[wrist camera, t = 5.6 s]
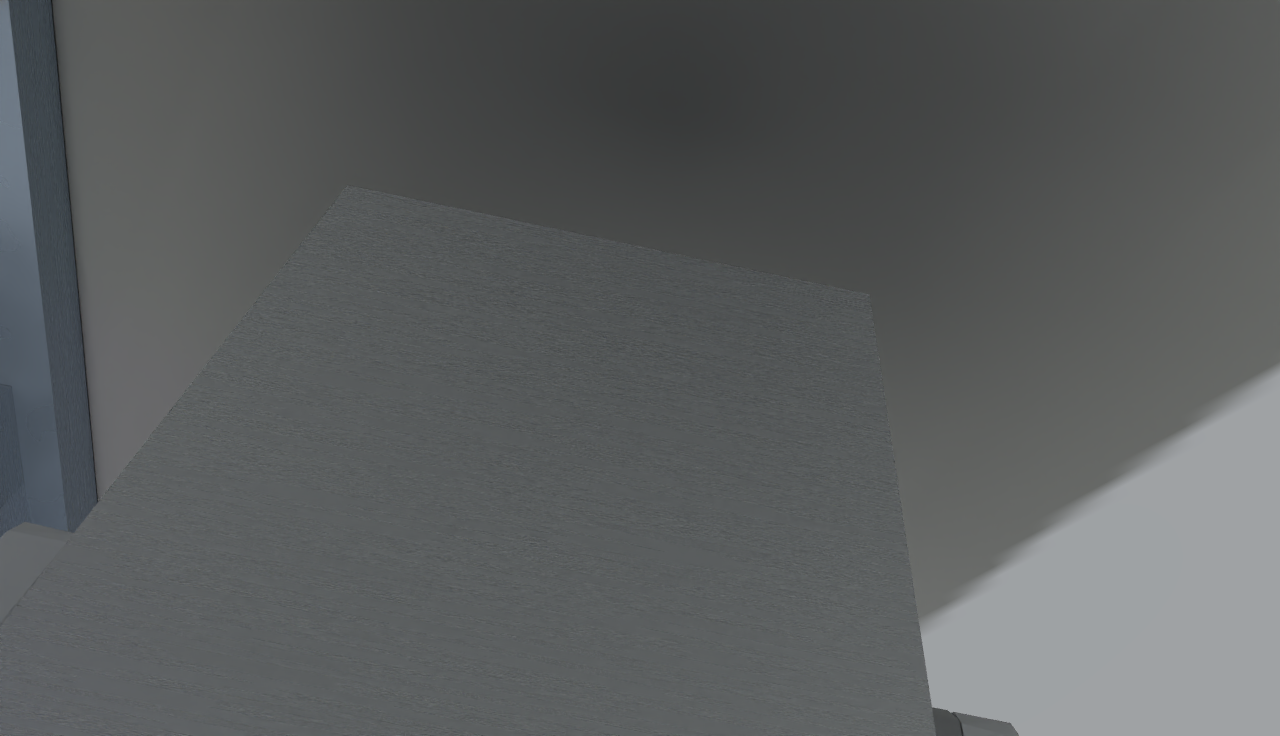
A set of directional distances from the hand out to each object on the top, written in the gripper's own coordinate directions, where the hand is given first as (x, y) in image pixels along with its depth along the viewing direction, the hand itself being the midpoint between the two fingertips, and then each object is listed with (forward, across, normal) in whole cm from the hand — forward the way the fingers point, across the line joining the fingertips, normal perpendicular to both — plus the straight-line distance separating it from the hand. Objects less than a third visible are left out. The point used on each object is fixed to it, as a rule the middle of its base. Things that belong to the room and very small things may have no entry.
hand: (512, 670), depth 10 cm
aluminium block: (+4, 0, 0) cm, 4 cm away
